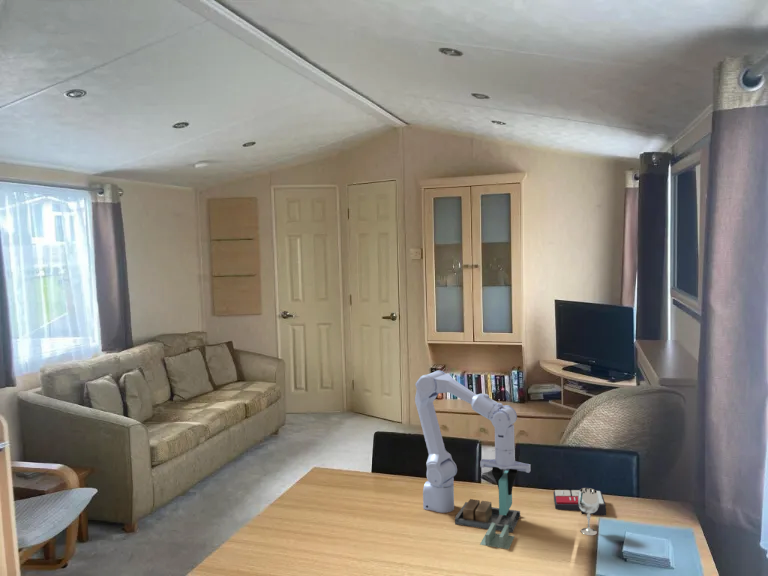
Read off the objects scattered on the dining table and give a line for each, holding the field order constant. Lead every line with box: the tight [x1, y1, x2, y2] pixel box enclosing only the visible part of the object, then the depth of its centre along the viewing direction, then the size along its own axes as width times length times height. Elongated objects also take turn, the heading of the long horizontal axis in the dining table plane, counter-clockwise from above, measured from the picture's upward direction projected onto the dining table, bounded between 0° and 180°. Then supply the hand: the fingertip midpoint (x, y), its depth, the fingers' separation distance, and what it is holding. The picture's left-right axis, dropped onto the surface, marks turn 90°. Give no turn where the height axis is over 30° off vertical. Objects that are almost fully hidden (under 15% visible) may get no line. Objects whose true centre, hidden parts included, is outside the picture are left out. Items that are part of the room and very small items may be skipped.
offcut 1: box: [463, 498, 481, 520], centre depth 183 cm, size 3×8×4 cm, turn 157°
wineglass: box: [578, 487, 599, 536], centre depth 173 cm, size 6×6×12 cm
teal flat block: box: [498, 469, 513, 515], centre depth 178 cm, size 2×9×10 cm, turn 157°
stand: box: [479, 523, 515, 550], centre depth 167 cm, size 8×8×4 cm
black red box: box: [553, 489, 607, 517], centre depth 191 cm, size 11×4×15 cm
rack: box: [454, 501, 521, 534], centre depth 181 cm, size 17×12×3 cm
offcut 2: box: [475, 500, 493, 522], centre depth 181 cm, size 3×8×4 cm, turn 157°
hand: (505, 493), depth 178 cm, fingers closed on teal flat block, 2 cm apart
